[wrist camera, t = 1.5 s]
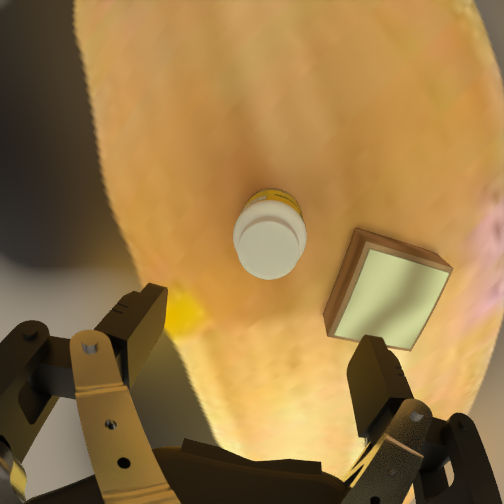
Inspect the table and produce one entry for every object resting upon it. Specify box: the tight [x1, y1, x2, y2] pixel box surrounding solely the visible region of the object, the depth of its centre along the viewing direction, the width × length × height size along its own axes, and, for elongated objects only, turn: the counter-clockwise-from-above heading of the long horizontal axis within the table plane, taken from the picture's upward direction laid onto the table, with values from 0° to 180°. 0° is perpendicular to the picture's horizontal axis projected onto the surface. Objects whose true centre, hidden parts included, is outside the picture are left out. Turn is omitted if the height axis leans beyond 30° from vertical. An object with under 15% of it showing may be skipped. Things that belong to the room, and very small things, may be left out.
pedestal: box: [323, 228, 453, 351], centre depth 28 cm, size 10×10×4 cm
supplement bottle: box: [233, 188, 307, 280], centre depth 24 cm, size 5×5×10 cm
